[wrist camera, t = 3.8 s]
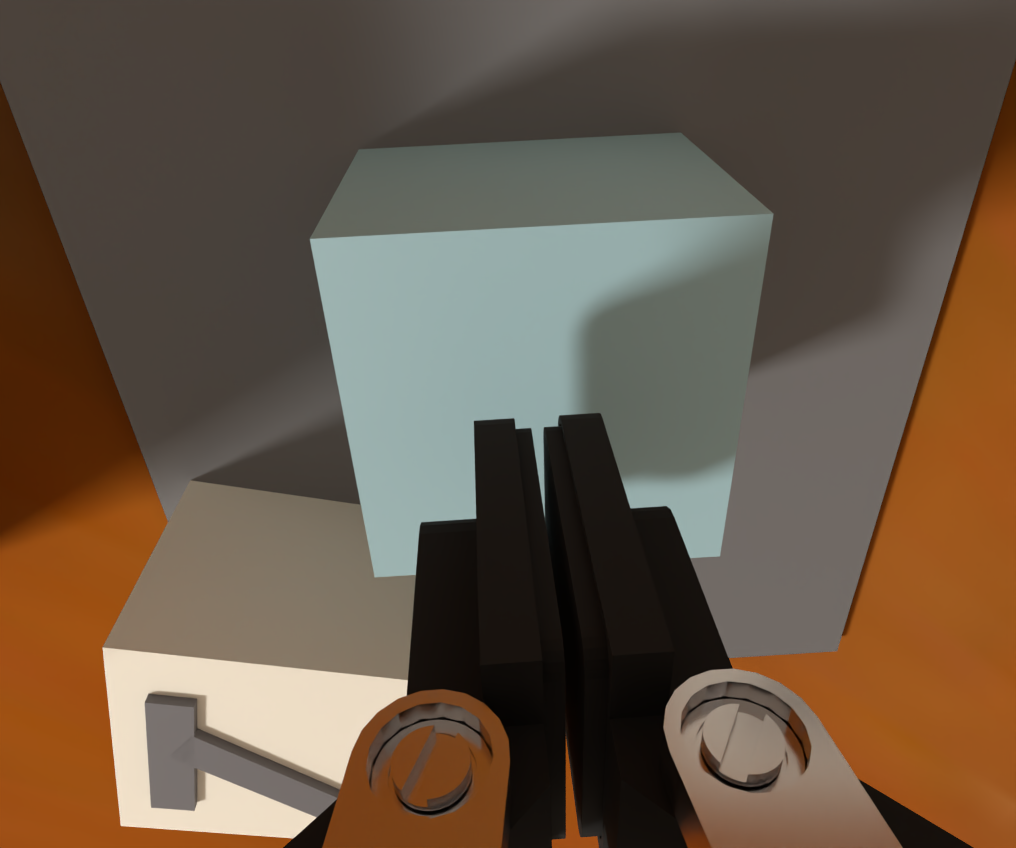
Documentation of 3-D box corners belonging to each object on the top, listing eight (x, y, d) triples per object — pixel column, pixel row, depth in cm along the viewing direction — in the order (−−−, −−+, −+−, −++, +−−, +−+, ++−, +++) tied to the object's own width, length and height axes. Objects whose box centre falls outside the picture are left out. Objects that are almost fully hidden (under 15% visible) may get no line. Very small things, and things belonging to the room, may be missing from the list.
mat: (1210, -654, 9) (1237, -675, 9) (831, 640, 22) (836, 651, 22) (-240, -599, 9) (-267, -620, 9) (235, 677, 22) (231, 689, 22)
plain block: (680, 132, 14) (774, 213, 10) (658, 406, 17) (720, 556, 13) (358, 149, 14) (309, 238, 9) (398, 421, 17) (374, 577, 13)
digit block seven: (439, 515, 18) (429, 691, 14) (404, 671, 22) (388, 853, 17) (190, 480, 18) (97, 656, 13) (191, 647, 21) (117, 835, 16)
